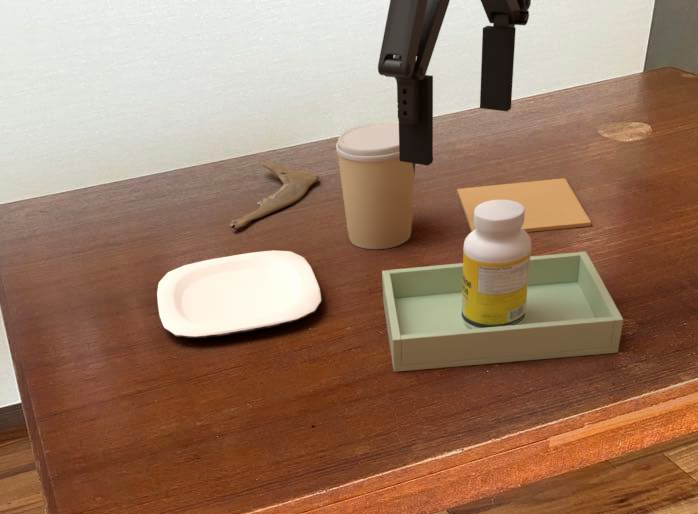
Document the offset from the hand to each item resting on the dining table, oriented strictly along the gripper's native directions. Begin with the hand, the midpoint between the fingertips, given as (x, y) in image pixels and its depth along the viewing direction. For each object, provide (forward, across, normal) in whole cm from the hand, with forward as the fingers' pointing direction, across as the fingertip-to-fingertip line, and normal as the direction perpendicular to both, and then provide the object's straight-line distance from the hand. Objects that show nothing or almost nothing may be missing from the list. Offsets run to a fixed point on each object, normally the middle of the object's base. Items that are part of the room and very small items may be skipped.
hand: (457, 134), depth 76 cm
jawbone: (+20, -20, -42) cm, 51 cm away
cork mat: (+20, -32, -8) cm, 39 cm away
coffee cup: (+20, -18, -20) cm, 34 cm away
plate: (+20, +4, -26) cm, 33 cm away
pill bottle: (+20, -5, +2) cm, 21 cm away
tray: (+20, -5, +2) cm, 21 cm away
